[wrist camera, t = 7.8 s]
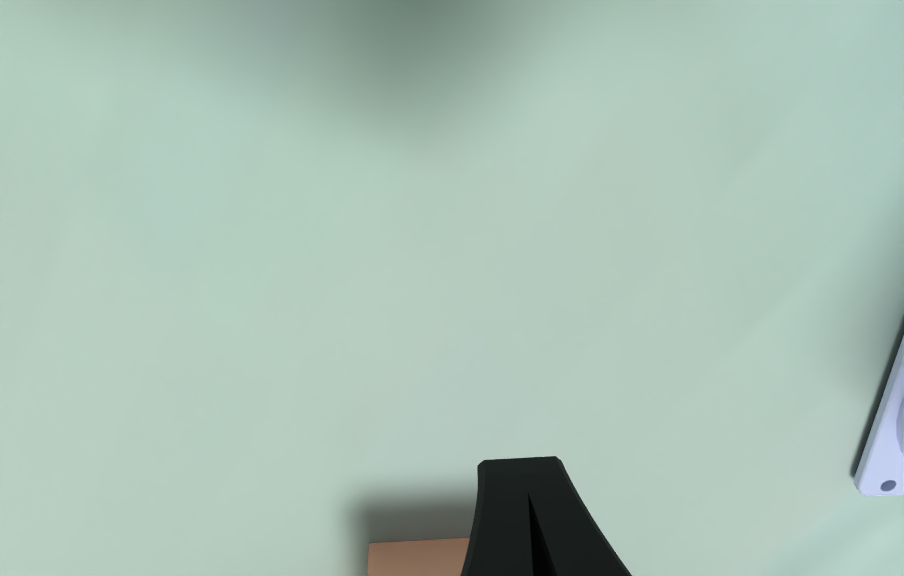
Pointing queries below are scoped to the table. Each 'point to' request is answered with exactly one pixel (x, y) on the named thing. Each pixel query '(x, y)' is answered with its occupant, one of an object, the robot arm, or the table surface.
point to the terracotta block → (418, 557)
